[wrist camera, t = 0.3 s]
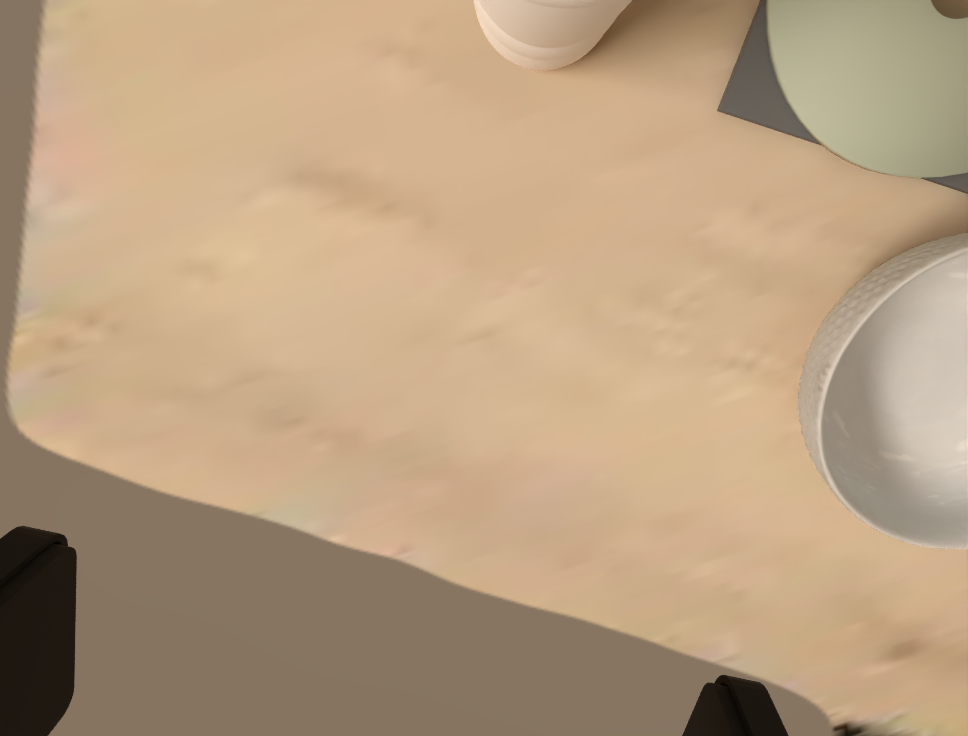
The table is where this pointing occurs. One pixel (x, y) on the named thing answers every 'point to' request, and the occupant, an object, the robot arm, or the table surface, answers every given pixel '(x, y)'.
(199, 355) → the table surface
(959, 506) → the cereal bowl
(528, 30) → the water bottle
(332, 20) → the table surface
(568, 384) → the table surface
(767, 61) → the mat
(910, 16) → the lid
